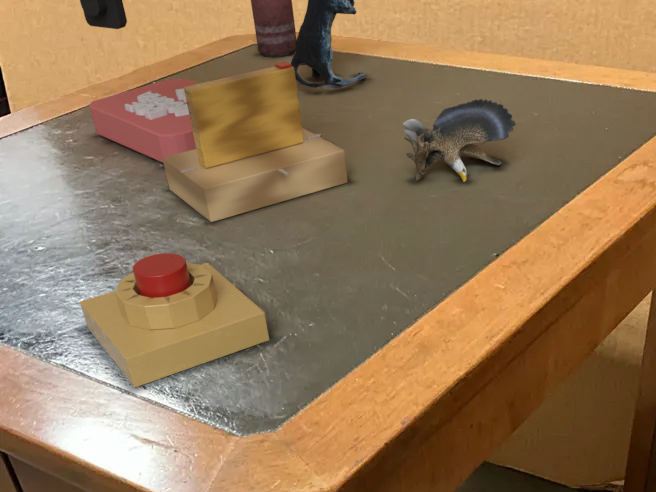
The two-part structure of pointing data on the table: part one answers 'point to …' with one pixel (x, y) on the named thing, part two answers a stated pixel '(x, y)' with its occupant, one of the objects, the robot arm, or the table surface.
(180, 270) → the button
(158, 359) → the switch
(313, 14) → the sculpture
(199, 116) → the wooden block
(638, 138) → the table surface
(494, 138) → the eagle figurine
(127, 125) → the plaque
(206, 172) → the stand
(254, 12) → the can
